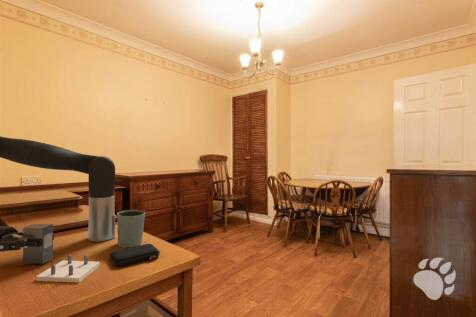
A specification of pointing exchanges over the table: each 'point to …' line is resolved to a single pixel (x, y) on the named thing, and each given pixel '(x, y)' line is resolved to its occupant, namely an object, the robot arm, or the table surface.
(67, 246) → the table surface
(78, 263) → the white peg board
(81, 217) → the table surface
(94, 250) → the table surface
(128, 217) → the green cup
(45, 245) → the block
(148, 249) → the carrying case or bag
